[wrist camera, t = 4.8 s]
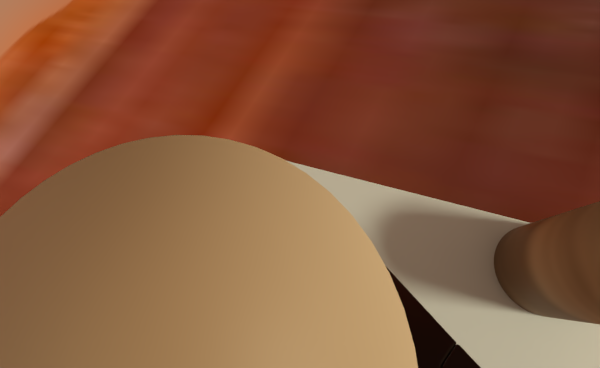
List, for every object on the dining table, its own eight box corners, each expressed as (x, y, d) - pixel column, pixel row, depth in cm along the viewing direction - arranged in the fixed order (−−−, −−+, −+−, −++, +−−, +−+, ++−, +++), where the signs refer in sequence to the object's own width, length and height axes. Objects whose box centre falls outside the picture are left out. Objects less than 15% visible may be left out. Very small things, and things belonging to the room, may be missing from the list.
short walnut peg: (529, 332, 13) (656, 362, 8) (476, 245, 15) (556, 223, 9) (611, 294, 14) (787, 299, 8) (551, 211, 15) (671, 171, 10)
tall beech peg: (276, 361, 14) (-137, 949, 2) (247, 274, 15) (-109, 236, 3) (359, 325, 14) (557, 619, 2) (323, 242, 15) (292, 73, 3)
